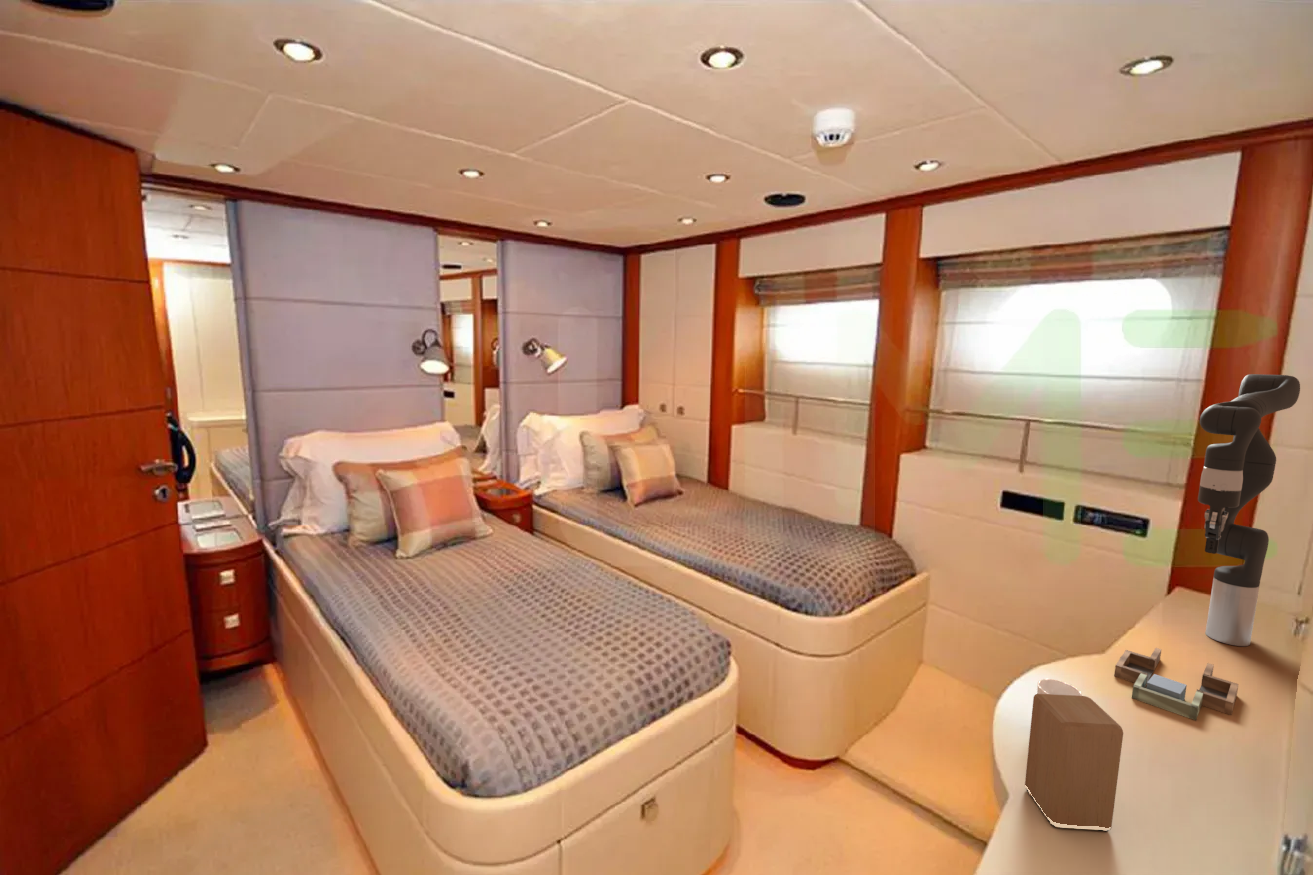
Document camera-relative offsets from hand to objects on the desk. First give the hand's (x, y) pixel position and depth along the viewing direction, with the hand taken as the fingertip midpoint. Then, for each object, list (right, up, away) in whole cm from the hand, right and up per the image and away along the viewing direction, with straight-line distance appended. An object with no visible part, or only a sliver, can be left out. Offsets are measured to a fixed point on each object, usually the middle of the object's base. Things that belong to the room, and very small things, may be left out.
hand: (1210, 552), depth 148 cm
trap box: (-13, -32, -4) cm, 35 cm away
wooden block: (-67, -39, -42) cm, 88 cm away
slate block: (-20, -33, -9) cm, 40 cm away
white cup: (-54, -35, -21) cm, 68 cm away
